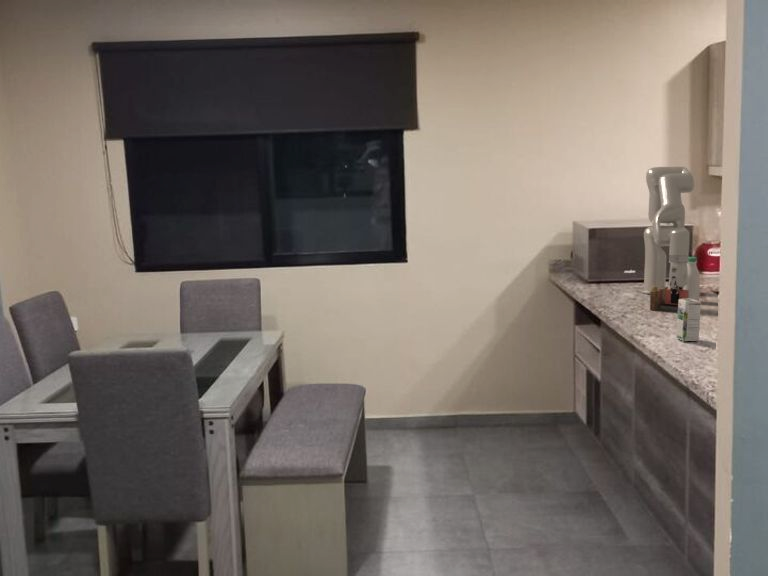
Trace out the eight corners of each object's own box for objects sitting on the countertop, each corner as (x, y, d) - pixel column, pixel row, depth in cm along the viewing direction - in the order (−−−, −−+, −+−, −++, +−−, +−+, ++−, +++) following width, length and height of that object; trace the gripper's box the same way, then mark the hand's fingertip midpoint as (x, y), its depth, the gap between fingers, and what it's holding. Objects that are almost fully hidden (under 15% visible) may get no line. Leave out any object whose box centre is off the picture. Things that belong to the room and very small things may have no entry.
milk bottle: (700, 304, 328) (702, 258, 324) (681, 303, 329) (683, 258, 326) (696, 300, 335) (699, 256, 332) (678, 300, 337) (680, 256, 333)
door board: (661, 304, 328) (662, 282, 327) (667, 305, 327) (668, 282, 325) (649, 310, 317) (650, 286, 315) (655, 311, 315) (656, 287, 314)
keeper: (665, 306, 324) (665, 301, 324) (694, 309, 317) (694, 304, 317) (658, 309, 318) (658, 305, 317) (687, 313, 310) (687, 308, 310)
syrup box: (675, 339, 267) (677, 298, 265) (691, 338, 268) (693, 298, 265) (683, 342, 262) (685, 301, 259) (699, 342, 262) (701, 301, 260)
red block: (684, 306, 313) (685, 290, 312) (665, 304, 318) (665, 288, 317) (688, 304, 316) (688, 288, 315) (668, 302, 321) (669, 287, 320)
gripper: (681, 262, 305) (679, 306, 308) (694, 257, 318) (692, 300, 321) (662, 260, 310) (660, 304, 313) (676, 256, 323) (674, 298, 326)
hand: (676, 301), depth 317 cm, fingers closed on red block, 4 cm apart
